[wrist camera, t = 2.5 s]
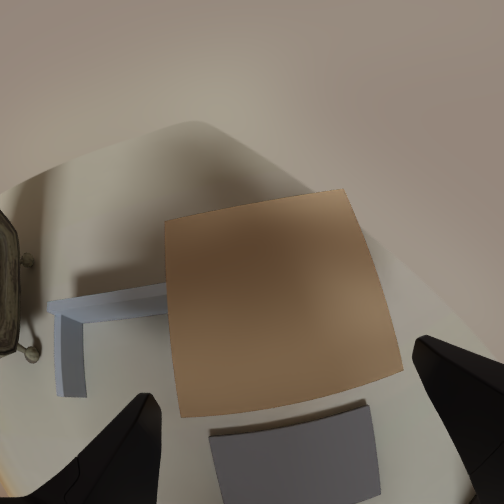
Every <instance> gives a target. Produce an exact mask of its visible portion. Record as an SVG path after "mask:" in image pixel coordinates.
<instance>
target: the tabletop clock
mask: <svg viewBox="0 0 504 504" xmlns="http://www.w3.org/2000/svg"><path fill="white" fill-rule="evenodd" d="M33 261H34V260H33V256H32V255H31V254H29V253H25V254H23V256H22V258H21V259H20V250H19V241H18V235H17V232H16V230H15V229H14V227H13V225H12V224H11V222H10V221H9V220H8V218H7V217H6V216H5V215H4V214H3V212H2V211H1V210H0V358H2V357H4V356H7V355H9V354H12V353H14V352H16V350H18V351H20V352H22V353H24V354H25V358H26V360H27V361H28V362H30V363H36V362H37V361H38V360H39V353H38V351H37V350H36V349H35V348H34V347H28V348H27V349H26V348H24V347H23V346H22V345H20V344H19V343H18V341H19V332H20V264H22V265H23V266H25V267H31V266H32V264H33Z"/></svg>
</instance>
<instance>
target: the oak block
mask: <svg viewBox="0 0 504 504" xmlns="http://www.w3.org/2000/svg"><path fill="white" fill-rule="evenodd" d="M165 267H166V289H167V306H168V319H169V331H170V341H171V351H172V359H173V368H174V375H175V383H176V390H177V396H178V402H179V409H180V414H181V418H186V417H203V416H216V415H226V414H235V413H243V412H250V411H257V410H263V409H269V408H275V407H280V406H285V405H290V404H295V403H300V402H304V401H308V400H313V399H317V398H321V397H324V396H328V395H332V394H336V393H339V392H343V391H346V390H349V389H353V388H356V387H359V386H362V385H365V384H368V383H371V382H374V381H377V380H380V379H382V378H385V377H388V376H390V375H393V374H396V373H398V372H401V371H403V370H404V369H403V364H402V360H401V356H400V351H399V347H398V343H397V339H396V335H395V331H394V328H393V324H392V320H391V317H390V313H389V310H388V306H387V303H386V300H385V297H384V293H383V290H382V287H381V284H380V281H379V278H378V275H377V272H376V269H375V266H374V263H373V260H372V258H371V255H370V252H369V249H368V247H367V244H366V241H365V239H364V236H363V234H362V231H361V229H360V226H359V224H358V221H357V219H356V216H355V214H354V212H353V209H352V207H351V204H350V202H349V200H348V198H347V195H346V193H345V191H344V189H338V190H331V191H324V192H317V193H311V194H304V195H298V196H292V197H285V198H280V199H274V200H268V201H262V202H257V203H251V204H246V205H240V206H235V207H230V208H225V209H220V210H215V211H210V212H205V213H200V214H195V215H191V216H186V217H181V218H177V219H172V220H168V221H165Z"/></svg>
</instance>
